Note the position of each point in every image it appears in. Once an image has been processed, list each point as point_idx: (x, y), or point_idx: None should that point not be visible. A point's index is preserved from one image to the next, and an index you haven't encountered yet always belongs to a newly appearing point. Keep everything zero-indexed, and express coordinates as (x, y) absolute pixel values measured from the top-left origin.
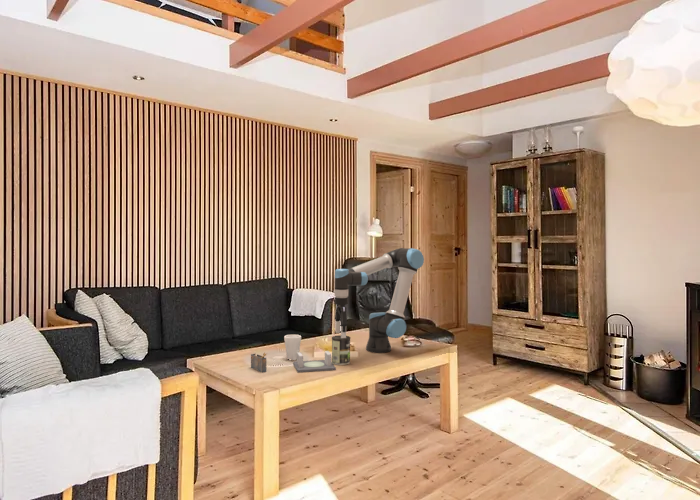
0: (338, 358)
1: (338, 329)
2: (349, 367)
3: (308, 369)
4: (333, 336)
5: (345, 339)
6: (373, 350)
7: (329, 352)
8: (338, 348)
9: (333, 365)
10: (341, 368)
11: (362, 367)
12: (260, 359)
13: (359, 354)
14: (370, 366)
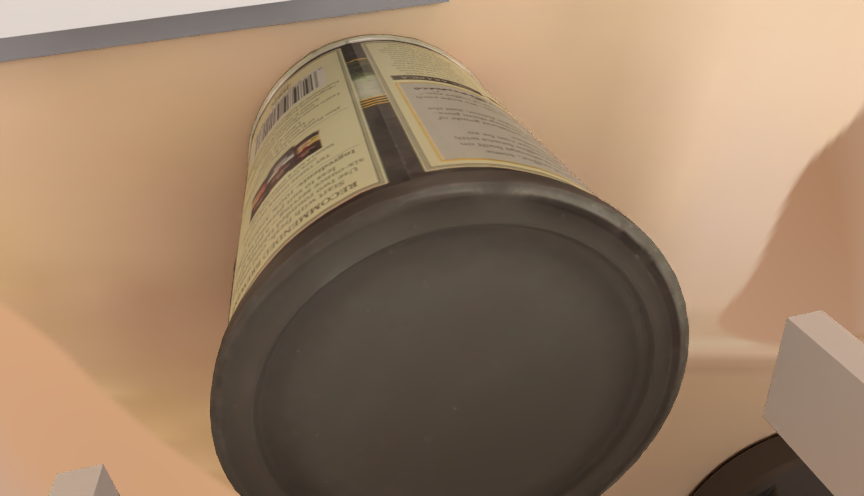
0: (251, 157)
1: (846, 450)
2: (128, 258)
3: None
4: (617, 231)
5: (241, 493)
6: (718, 492)
7: (164, 14)
8: (244, 233)
9: (70, 44)
10: (59, 155)
11: (144, 392)
12: None
13: (688, 369)
14: (194, 460)
